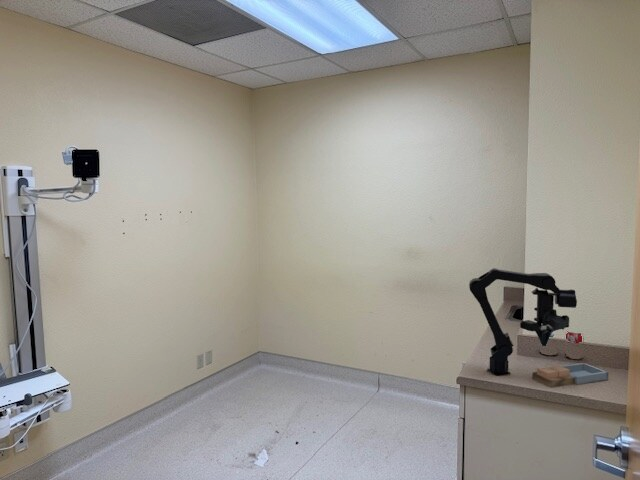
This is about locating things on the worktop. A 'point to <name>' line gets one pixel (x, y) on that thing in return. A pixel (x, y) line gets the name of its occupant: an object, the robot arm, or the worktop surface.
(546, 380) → the bench board
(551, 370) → the tile
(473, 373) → the worktop surface
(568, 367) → the box
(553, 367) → the tile
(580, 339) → the soda can
